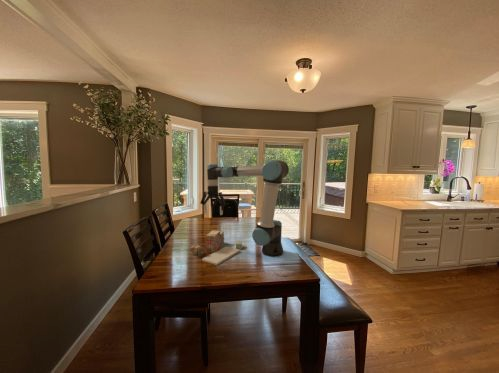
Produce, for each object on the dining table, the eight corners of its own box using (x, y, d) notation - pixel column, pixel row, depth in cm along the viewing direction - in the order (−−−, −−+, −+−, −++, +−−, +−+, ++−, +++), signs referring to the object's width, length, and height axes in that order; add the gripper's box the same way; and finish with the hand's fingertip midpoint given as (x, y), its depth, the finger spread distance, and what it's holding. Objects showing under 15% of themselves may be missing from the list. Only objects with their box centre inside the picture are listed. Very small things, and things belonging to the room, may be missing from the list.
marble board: (240, 251, 162) (240, 249, 162) (216, 265, 140) (216, 263, 140) (226, 247, 168) (226, 246, 168) (202, 260, 146) (202, 258, 146)
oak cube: (200, 252, 159) (200, 245, 158) (196, 255, 154) (196, 248, 154) (193, 251, 160) (193, 244, 160) (190, 254, 156) (189, 247, 155)
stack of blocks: (216, 242, 181) (216, 226, 180) (224, 242, 180) (224, 227, 178) (206, 252, 160) (206, 235, 159) (214, 253, 159) (214, 235, 157)
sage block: (242, 246, 173) (242, 240, 173) (241, 249, 166) (241, 244, 166) (236, 245, 173) (236, 240, 173) (236, 249, 166) (236, 244, 166)
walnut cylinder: (206, 255, 154) (206, 247, 153) (201, 258, 150) (201, 249, 149) (201, 254, 156) (201, 245, 155) (196, 256, 152) (196, 247, 151)
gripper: (230, 185, 166) (230, 214, 168) (200, 184, 174) (201, 211, 176) (225, 186, 159) (226, 216, 161) (195, 185, 167) (195, 213, 169)
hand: (213, 214), depth 169 cm, fingers open, 13 cm apart
